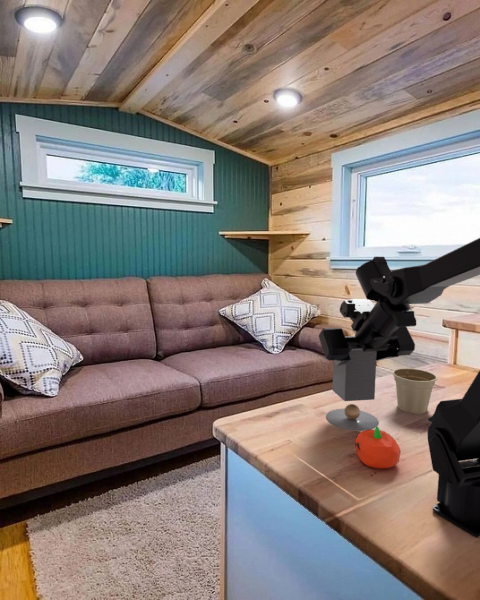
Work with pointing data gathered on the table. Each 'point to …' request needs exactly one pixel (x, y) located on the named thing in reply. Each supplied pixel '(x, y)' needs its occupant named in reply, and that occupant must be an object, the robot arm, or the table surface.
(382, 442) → the pumpkin
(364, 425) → the slate coaster
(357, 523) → the table surface
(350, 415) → the cork ball
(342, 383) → the dark grey square block
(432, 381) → the flower pot
